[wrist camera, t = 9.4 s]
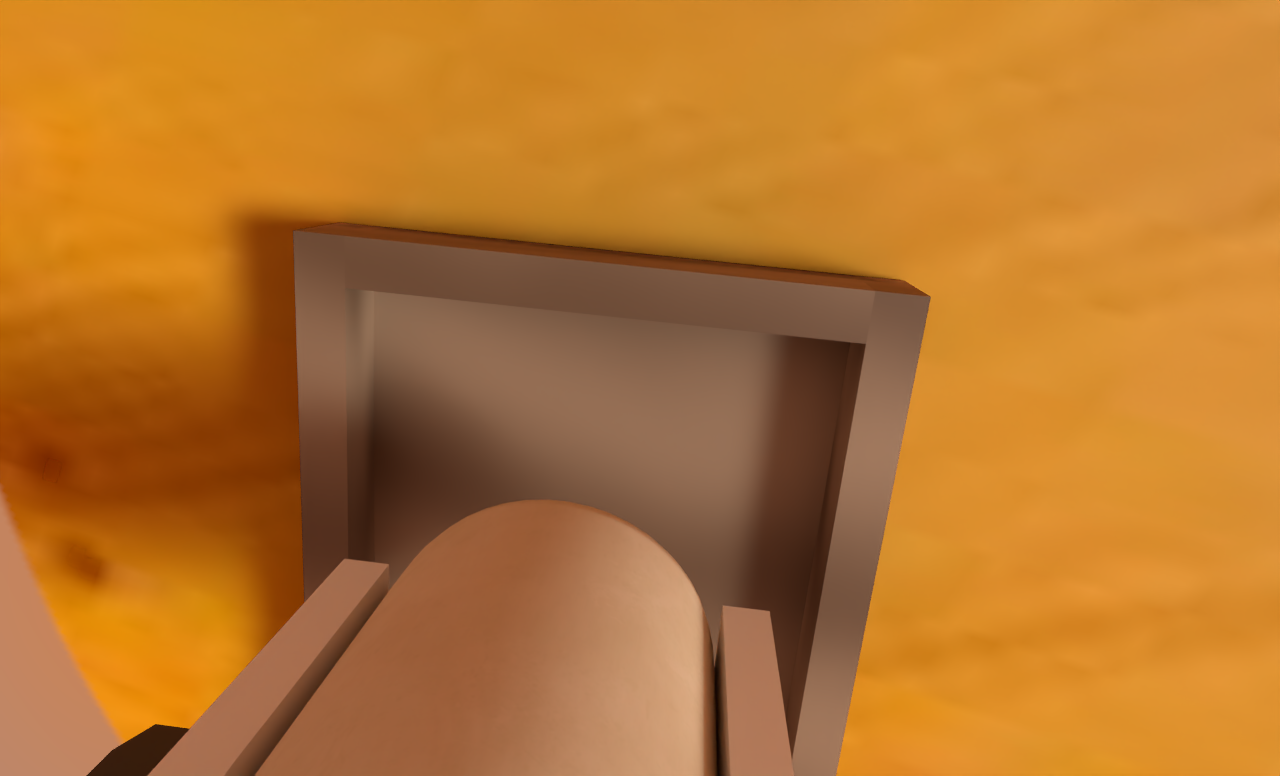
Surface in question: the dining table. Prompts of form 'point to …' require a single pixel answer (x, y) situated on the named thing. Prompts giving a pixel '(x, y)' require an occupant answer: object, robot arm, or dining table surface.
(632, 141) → the dining table surface
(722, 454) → the tray
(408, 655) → the candle
